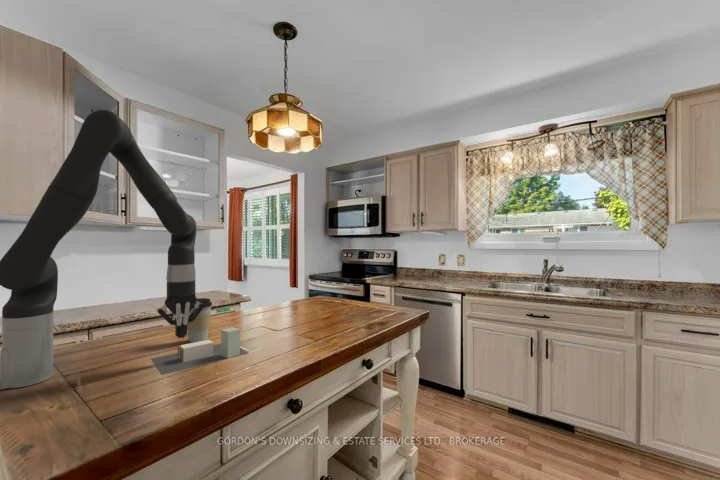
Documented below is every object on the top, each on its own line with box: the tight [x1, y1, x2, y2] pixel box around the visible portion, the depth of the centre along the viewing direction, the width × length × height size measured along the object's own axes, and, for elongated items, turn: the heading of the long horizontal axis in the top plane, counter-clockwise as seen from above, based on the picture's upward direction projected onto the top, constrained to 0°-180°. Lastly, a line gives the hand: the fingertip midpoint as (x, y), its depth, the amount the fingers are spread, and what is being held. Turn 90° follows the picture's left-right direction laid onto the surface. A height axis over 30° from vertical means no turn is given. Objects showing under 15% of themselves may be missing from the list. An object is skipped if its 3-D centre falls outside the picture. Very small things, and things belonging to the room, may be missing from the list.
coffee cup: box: [187, 297, 213, 343], centre depth 114 cm, size 9×9×15 cm
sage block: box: [220, 326, 241, 359], centre depth 99 cm, size 4×4×8 cm
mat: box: [150, 343, 250, 376], centre depth 98 cm, size 24×16×1 cm, turn 132°
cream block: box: [177, 339, 214, 363], centre depth 97 cm, size 4×4×9 cm
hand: (181, 337), depth 95 cm, fingers closed
